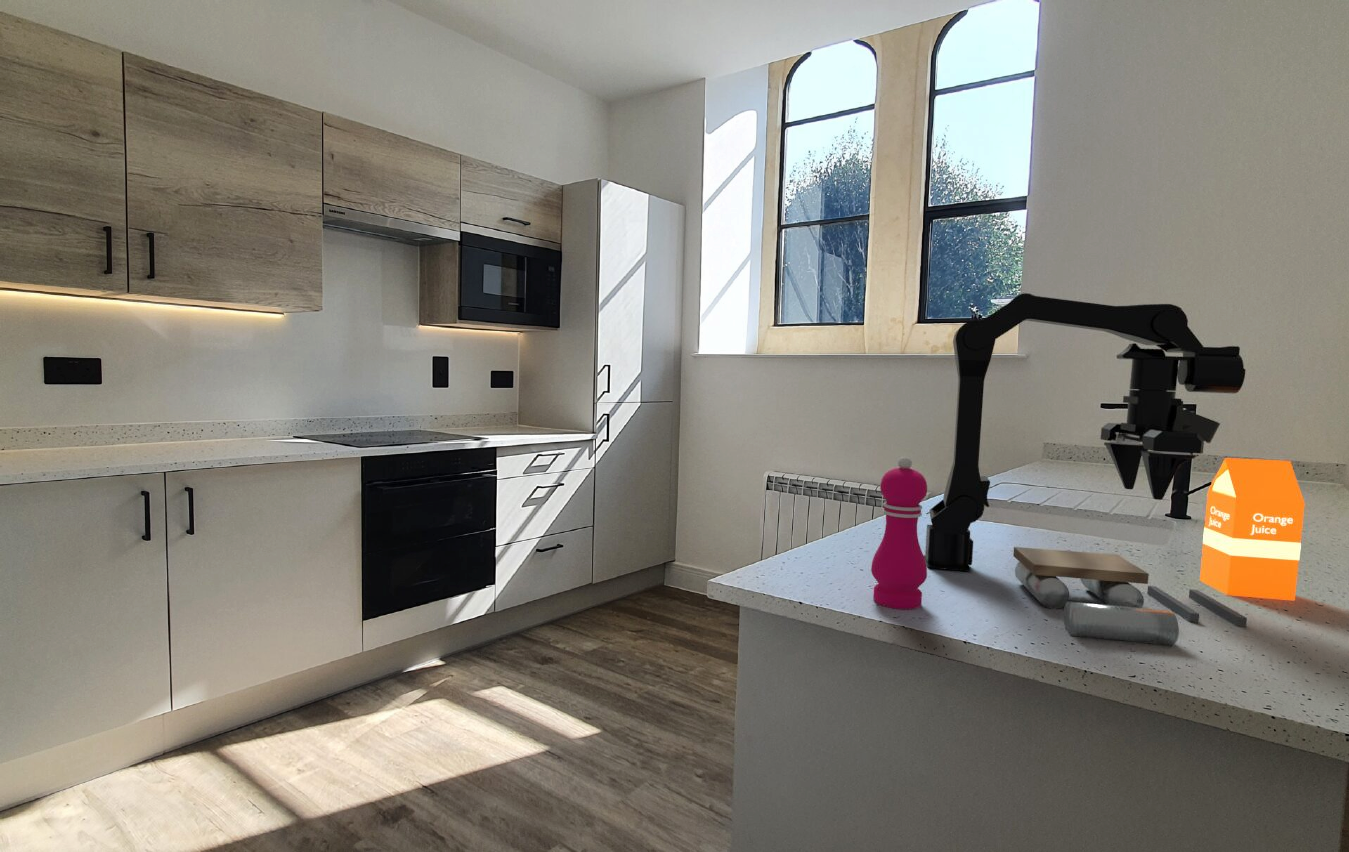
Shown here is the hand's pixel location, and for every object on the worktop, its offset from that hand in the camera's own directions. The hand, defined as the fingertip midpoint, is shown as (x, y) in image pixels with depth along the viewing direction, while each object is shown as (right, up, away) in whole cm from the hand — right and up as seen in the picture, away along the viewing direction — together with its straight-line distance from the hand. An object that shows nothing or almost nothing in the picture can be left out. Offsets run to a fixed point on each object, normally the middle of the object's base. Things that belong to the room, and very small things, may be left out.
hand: (1142, 494), depth 105 cm
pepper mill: (-40, -14, -10) cm, 44 cm away
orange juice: (+16, -15, +1) cm, 22 cm away
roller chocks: (+1, -15, -9) cm, 18 cm away
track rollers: (-14, -14, -6) cm, 21 cm away
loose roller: (-17, -14, -21) cm, 30 cm away
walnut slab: (-14, -10, -7) cm, 18 cm away
